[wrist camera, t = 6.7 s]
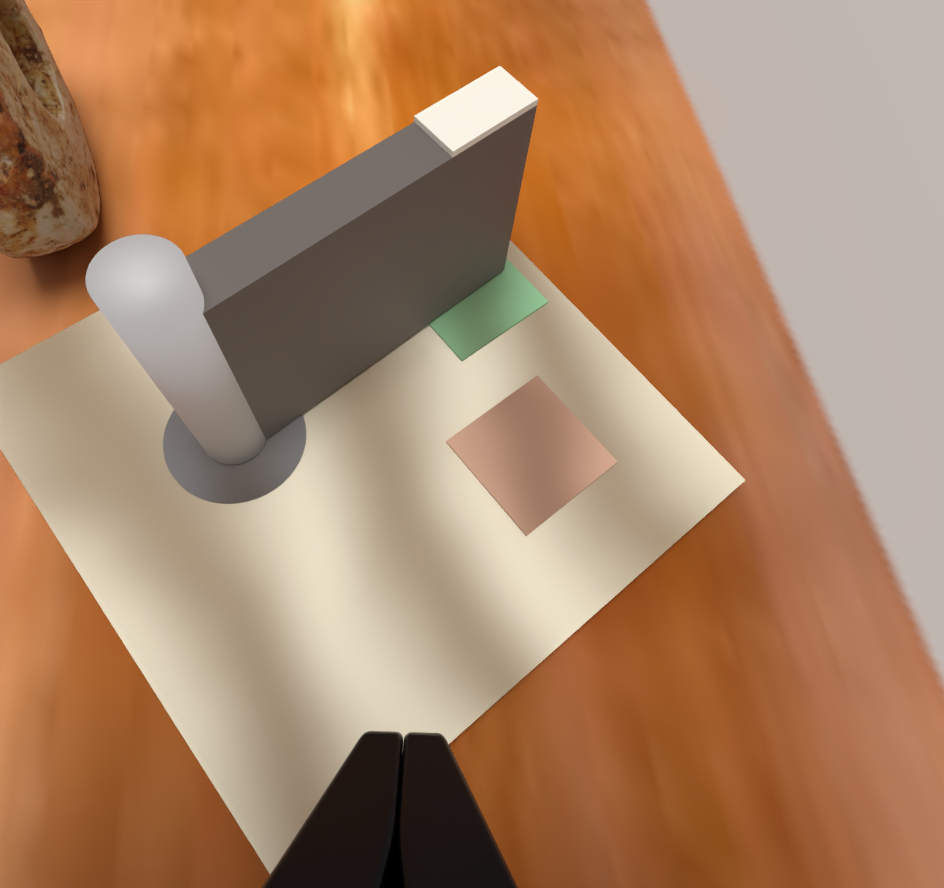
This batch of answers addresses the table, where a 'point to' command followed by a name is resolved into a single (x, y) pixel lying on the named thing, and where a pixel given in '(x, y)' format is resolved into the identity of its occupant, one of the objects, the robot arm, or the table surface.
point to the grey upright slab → (323, 271)
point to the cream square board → (359, 530)
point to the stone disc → (40, 146)
